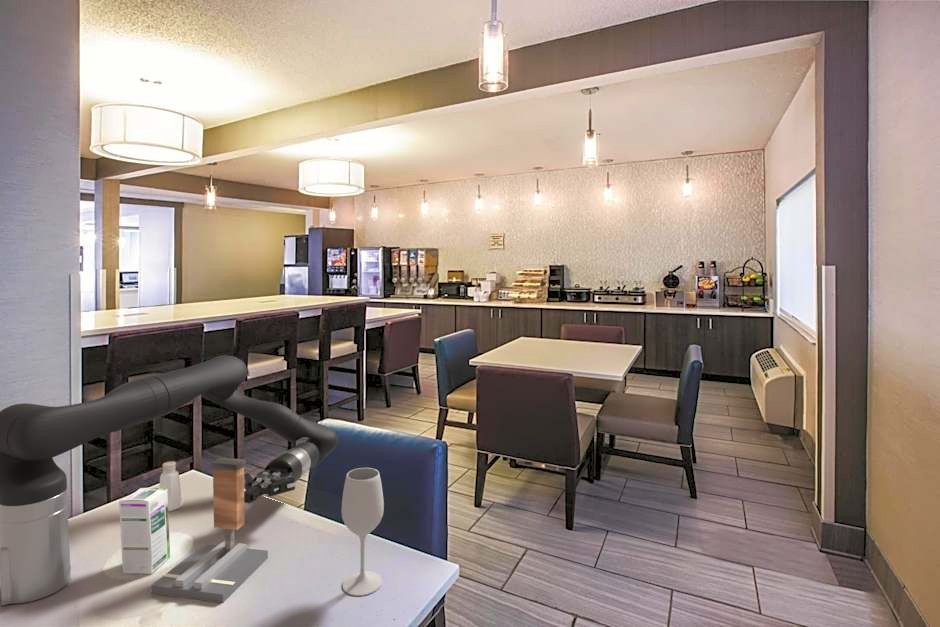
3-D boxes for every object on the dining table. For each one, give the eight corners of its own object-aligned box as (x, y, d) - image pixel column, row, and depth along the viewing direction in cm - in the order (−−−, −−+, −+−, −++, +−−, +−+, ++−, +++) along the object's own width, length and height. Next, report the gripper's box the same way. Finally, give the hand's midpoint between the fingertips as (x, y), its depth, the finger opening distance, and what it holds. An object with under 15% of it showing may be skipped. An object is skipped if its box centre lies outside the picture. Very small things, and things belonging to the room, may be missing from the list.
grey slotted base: (204, 550, 102) (204, 537, 101) (267, 557, 100) (267, 544, 99) (151, 593, 88) (150, 578, 88) (223, 602, 86) (222, 587, 86)
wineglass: (389, 575, 95) (390, 468, 93) (371, 600, 87) (372, 485, 86) (354, 568, 97) (354, 464, 95) (333, 592, 89) (333, 479, 88)
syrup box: (151, 575, 93) (149, 500, 92) (120, 574, 93) (118, 499, 92) (170, 557, 99) (169, 487, 98) (141, 556, 99) (139, 486, 98)
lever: (221, 545, 100) (220, 457, 99) (246, 548, 99) (245, 459, 98) (212, 553, 98) (211, 462, 96) (237, 556, 97) (236, 464, 95)
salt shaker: (180, 499, 124) (179, 457, 123) (185, 507, 120) (184, 463, 119) (155, 505, 121) (154, 461, 120) (158, 514, 116) (157, 468, 116)
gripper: (263, 450, 121) (217, 478, 104) (314, 454, 119) (275, 483, 102) (263, 480, 122) (217, 513, 105) (314, 484, 120) (275, 519, 103)
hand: (246, 498), depth 104 cm, fingers closed
